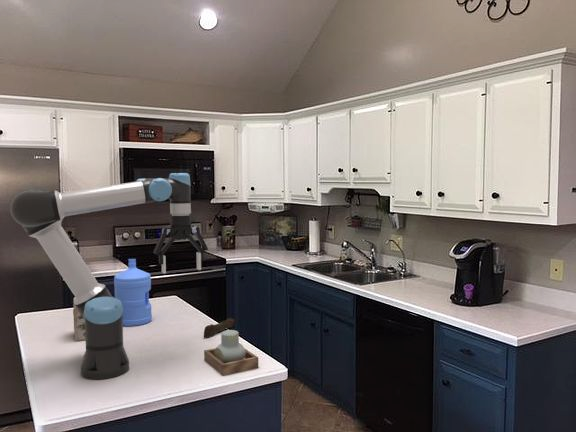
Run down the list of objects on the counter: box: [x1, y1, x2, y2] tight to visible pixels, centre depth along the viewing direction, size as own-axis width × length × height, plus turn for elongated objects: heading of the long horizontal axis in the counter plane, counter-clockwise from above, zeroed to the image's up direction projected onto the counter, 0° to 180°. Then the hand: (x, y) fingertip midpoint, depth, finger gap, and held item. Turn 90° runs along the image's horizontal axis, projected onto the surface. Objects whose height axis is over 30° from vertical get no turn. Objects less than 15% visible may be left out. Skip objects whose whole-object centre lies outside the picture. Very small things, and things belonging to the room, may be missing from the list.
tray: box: [203, 347, 259, 377], centre depth 170 cm, size 13×16×4 cm
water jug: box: [113, 258, 153, 327], centre depth 220 cm, size 16×16×28 cm
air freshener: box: [215, 329, 246, 363], centre depth 169 cm, size 11×8×10 cm
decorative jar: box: [72, 296, 85, 342], centre depth 200 cm, size 12×12×18 cm
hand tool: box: [203, 317, 236, 339], centre depth 205 cm, size 19×4×5 cm, turn 149°
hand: (181, 271), depth 186 cm, fingers open, 13 cm apart
